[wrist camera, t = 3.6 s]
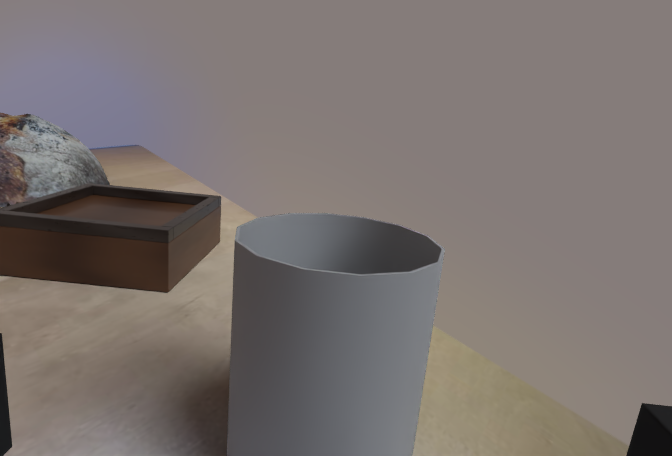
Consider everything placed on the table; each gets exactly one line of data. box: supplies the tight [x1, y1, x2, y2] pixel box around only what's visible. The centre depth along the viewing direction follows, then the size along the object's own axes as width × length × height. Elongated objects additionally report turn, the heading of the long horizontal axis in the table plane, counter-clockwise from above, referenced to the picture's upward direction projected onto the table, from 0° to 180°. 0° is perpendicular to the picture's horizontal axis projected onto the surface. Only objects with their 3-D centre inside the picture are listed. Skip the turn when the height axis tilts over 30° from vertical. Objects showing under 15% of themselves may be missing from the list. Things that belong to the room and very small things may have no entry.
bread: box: [0, 113, 110, 207], centre depth 67 cm, size 27×32×10 cm
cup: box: [227, 213, 445, 456], centre depth 20 cm, size 8×8×10 cm
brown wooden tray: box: [0, 183, 221, 292], centre depth 43 cm, size 14×14×5 cm
